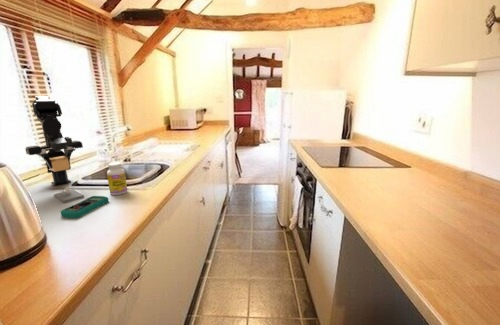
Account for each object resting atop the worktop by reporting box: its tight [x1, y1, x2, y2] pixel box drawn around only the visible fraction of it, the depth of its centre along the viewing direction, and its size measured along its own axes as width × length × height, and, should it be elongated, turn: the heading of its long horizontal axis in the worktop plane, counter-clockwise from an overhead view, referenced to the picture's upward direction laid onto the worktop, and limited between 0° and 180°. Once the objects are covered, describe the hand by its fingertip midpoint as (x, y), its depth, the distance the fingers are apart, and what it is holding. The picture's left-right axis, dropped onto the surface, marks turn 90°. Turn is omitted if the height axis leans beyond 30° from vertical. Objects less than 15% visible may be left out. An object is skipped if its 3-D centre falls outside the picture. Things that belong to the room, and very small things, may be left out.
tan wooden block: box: [49, 156, 71, 172], centre depth 109 cm, size 6×6×5 cm
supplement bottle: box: [106, 161, 128, 196], centre depth 107 cm, size 7×7×13 cm
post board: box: [53, 186, 85, 204], centre depth 105 cm, size 12×7×4 cm, turn 52°
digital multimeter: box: [60, 195, 110, 219], centre depth 93 cm, size 7×15×3 cm, turn 167°
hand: (59, 166), depth 110 cm, fingers closed on tan wooden block, 6 cm apart
